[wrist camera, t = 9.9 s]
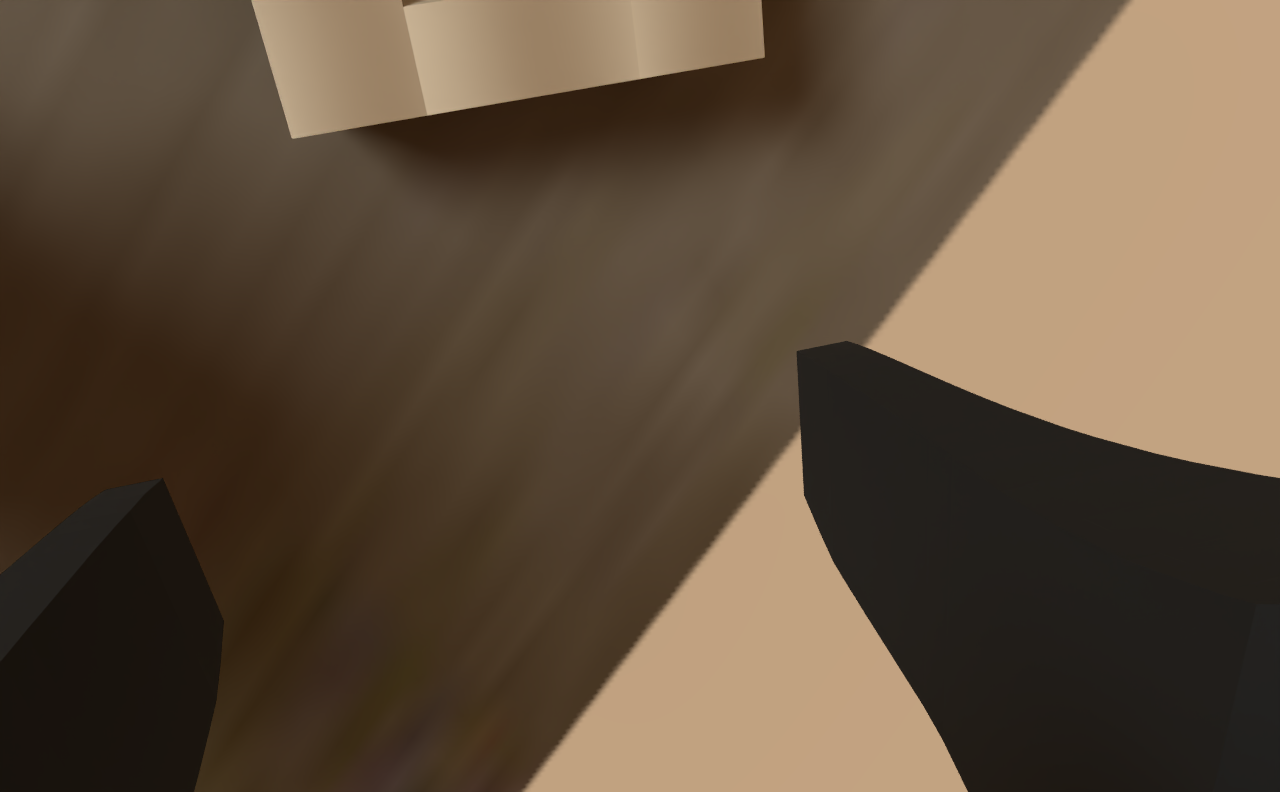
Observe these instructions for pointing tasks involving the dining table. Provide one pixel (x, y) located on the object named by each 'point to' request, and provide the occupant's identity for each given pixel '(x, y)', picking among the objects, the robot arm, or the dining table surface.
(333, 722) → the dining table surface
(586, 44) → the lock block
